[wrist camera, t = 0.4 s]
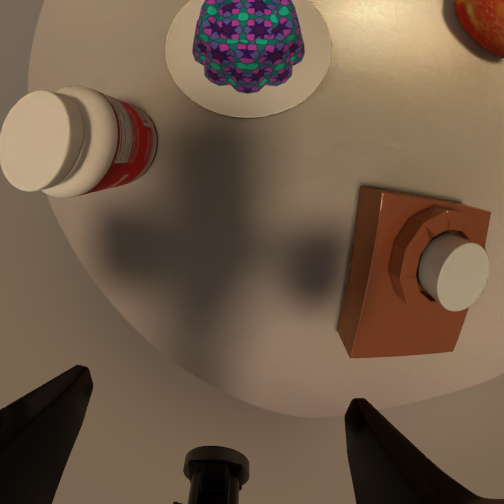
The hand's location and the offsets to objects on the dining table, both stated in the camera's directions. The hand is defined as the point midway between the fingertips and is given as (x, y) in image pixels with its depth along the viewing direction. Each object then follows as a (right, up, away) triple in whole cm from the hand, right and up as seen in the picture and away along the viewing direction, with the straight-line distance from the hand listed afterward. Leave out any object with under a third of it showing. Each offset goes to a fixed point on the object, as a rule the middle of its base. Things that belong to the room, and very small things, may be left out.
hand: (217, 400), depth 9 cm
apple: (+22, +26, +8) cm, 35 cm away
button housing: (+14, +4, +15) cm, 20 cm away
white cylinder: (+14, +4, +9) cm, 17 cm away
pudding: (+1, +20, +10) cm, 22 cm away
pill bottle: (-9, +13, +12) cm, 20 cm away
